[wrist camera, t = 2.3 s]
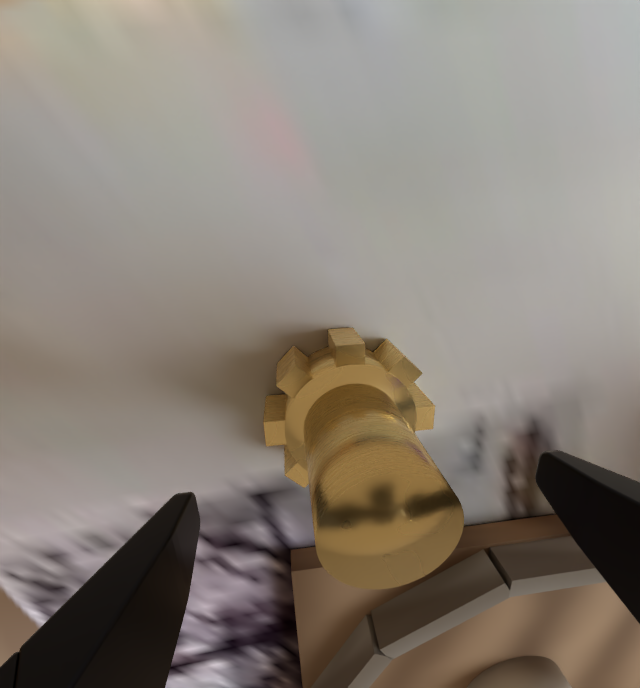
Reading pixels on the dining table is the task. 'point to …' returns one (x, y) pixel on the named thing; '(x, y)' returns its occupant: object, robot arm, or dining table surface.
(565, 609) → the carrier
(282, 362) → the gear
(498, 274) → the dining table surface
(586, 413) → the dining table surface
